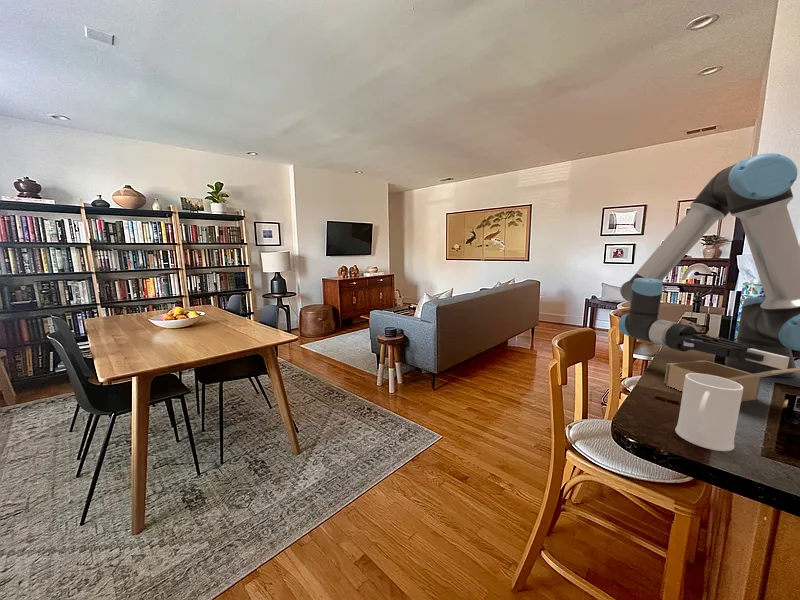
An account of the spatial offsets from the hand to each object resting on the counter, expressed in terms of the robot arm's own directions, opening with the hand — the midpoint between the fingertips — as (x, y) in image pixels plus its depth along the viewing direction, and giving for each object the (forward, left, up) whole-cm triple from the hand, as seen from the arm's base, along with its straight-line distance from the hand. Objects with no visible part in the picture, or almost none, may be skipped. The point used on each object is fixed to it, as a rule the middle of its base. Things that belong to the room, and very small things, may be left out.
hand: (785, 363), depth 71 cm
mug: (+28, +4, -13) cm, 31 cm away
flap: (0, -7, -6) cm, 10 cm away
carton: (0, -13, -12) cm, 18 cm away
